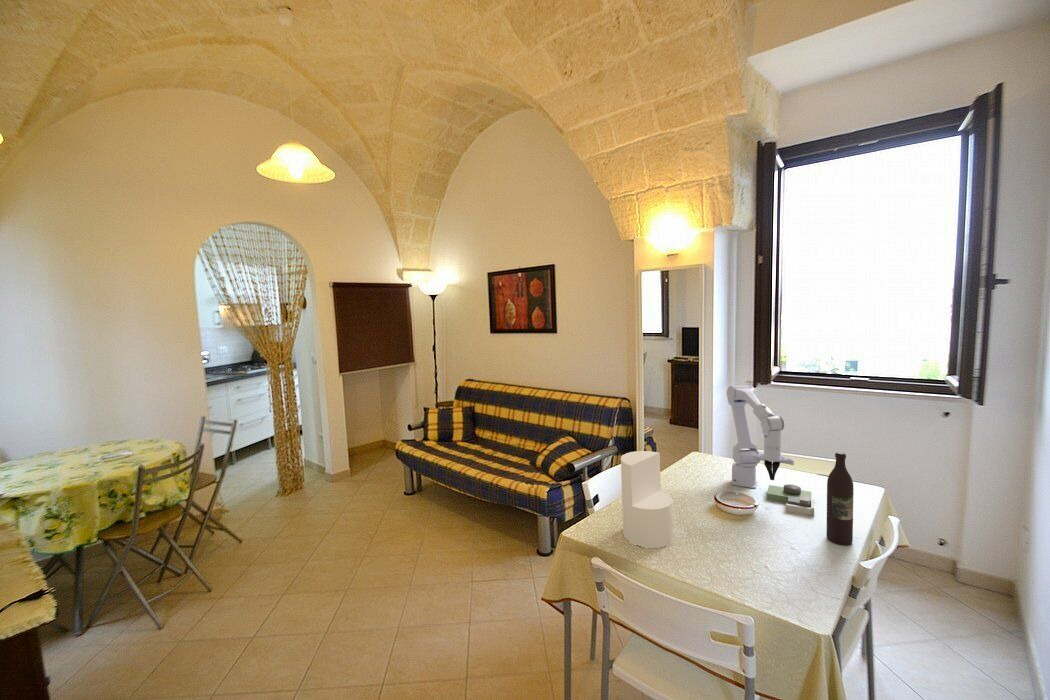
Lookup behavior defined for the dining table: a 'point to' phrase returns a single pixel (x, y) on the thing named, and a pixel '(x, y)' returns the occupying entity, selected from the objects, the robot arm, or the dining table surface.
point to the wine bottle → (840, 503)
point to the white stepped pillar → (645, 501)
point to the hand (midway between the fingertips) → (772, 479)
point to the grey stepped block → (799, 501)
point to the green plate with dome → (790, 490)
